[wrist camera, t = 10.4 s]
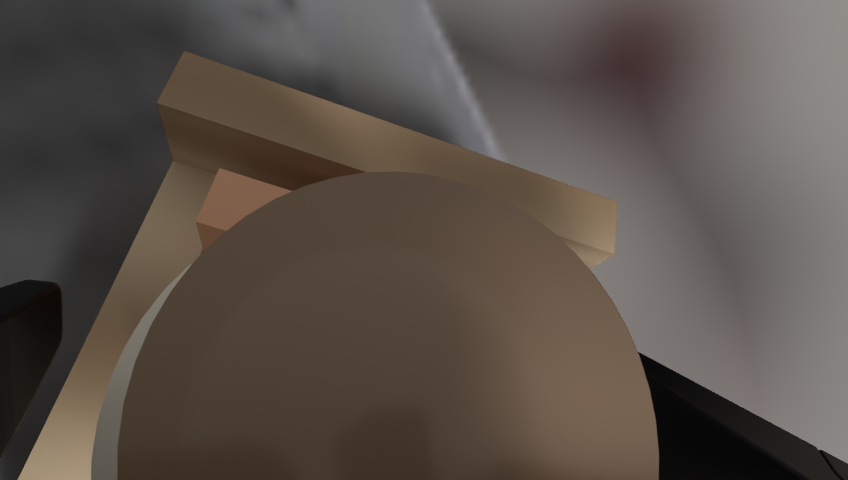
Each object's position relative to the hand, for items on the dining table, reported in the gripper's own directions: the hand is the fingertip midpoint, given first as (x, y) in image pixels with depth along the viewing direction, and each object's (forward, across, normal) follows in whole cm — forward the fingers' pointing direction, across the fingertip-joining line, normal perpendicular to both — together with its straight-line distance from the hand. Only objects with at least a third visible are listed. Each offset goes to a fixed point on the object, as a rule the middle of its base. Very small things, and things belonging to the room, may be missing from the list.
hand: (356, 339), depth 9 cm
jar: (+4, 0, +7) cm, 8 cm away
